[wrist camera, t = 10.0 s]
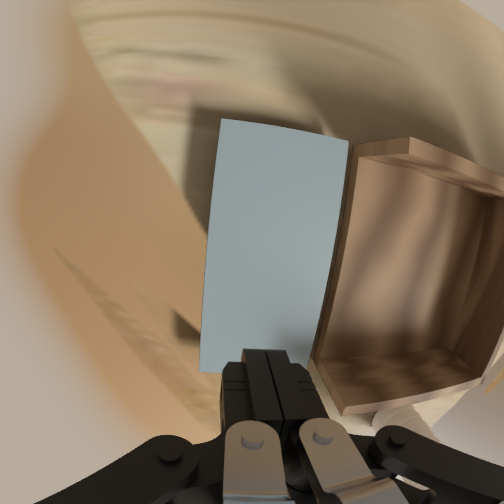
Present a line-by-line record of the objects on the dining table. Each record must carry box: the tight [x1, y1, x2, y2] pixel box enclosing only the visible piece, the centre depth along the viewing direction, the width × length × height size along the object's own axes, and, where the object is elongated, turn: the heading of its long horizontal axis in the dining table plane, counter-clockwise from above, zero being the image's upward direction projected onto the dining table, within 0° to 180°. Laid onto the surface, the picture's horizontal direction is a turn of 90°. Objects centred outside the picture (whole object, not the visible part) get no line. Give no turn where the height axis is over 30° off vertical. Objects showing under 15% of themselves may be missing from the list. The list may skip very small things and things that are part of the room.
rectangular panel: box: [199, 118, 349, 373], centre depth 25 cm, size 2×22×10 cm
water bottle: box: [372, 404, 442, 490], centre depth 23 cm, size 9×6×25 cm
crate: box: [313, 136, 504, 416], centre depth 24 cm, size 20×22×9 cm
